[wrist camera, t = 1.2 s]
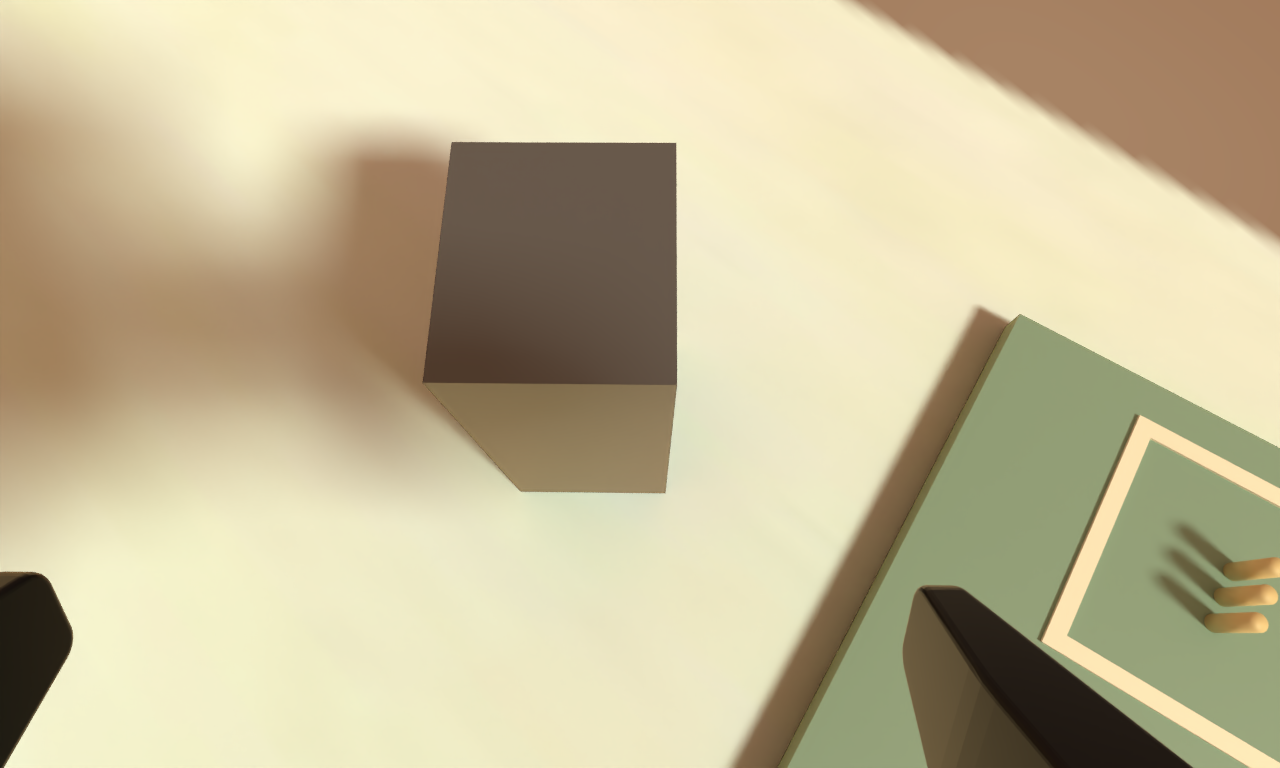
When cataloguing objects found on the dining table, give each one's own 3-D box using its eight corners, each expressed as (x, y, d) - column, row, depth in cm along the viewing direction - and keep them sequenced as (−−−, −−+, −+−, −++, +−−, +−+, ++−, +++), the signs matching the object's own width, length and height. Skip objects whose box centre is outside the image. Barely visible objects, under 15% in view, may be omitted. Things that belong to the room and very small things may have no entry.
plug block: (665, 493, 22) (676, 385, 12) (520, 491, 22) (422, 382, 12) (665, 341, 23) (676, 143, 14) (531, 340, 24) (451, 142, 14)
